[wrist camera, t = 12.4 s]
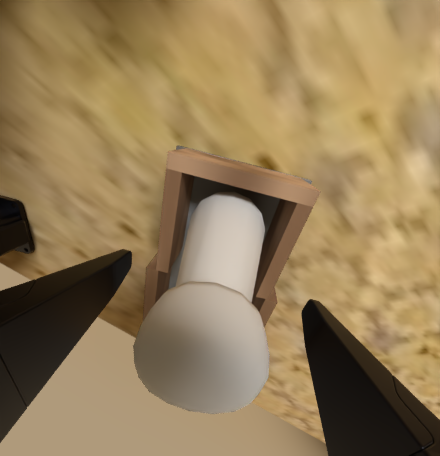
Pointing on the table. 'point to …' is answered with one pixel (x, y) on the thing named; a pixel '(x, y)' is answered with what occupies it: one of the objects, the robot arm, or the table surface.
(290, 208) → the brown wooden rectangular tray
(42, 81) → the table surface
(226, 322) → the salt shaker
